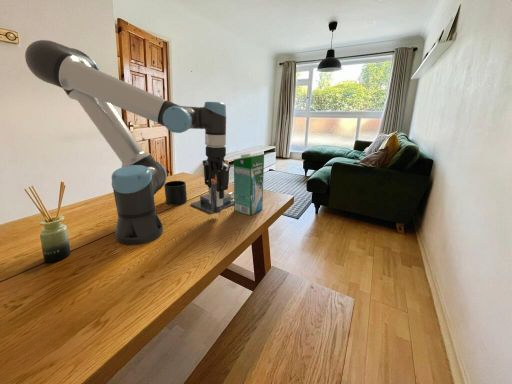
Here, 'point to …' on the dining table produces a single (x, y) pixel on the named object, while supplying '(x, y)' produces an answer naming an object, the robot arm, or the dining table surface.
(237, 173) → the milk carton
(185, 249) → the dining table surface
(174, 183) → the mug
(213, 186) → the copper tipped cylinder
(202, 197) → the grey peg hole base
